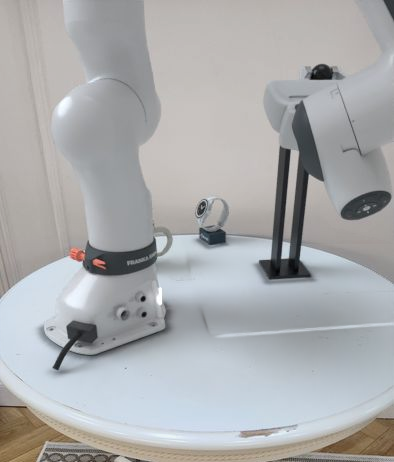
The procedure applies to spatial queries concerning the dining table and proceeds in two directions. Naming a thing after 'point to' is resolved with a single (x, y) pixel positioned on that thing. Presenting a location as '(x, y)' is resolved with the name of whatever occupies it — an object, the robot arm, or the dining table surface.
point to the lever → (321, 72)
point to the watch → (213, 232)
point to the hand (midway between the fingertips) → (318, 70)
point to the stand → (276, 265)
